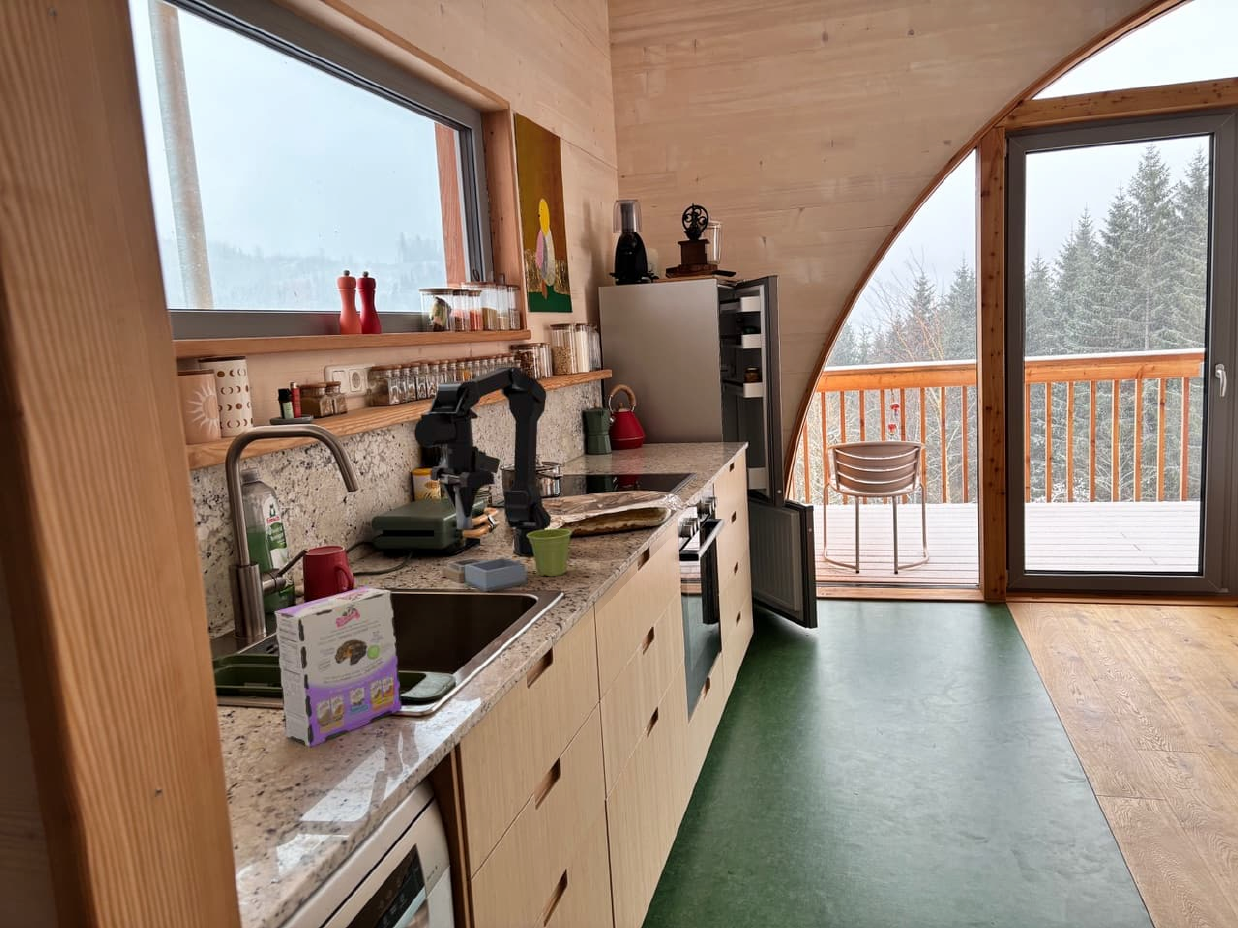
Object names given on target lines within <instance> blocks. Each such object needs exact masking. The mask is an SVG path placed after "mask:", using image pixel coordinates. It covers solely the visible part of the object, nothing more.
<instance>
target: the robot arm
mask: <svg viewBox="0 0 1238 928" xmlns="http://www.w3.org/2000/svg"><path fill="white" fill-rule="evenodd" d="M437 388H438V389H437V391H436V393H435V395H434V398H433V400H432V402H431V405H430V408H429V410H428V412H427V413H426V412H424V413H421V414H420V420H418V421H417V422H416V424H415V427H414V430H413V434H414V439H415V442H416V443H417V444H418V445H419V446H420V447H422V448H424V449H425V448H426V449H428V448H432V447H437V446H443V445H444V446H445V447H441V453H443V454H445V459H446V461H445V462H446V465H445V464H444V465H438V466H435V465H434V466H433V467H432V468H431V469H430V471H429V475H430V476H429V477H430V480H431V481H437V482H438V481H439V480H440V479H442V481H441V482H439V483H438V485H439V486H440V487H441V488H442V490H443V492H444V493H445V495H446V497H447V499H448V500H449V502H450V504H451V506H452V508H453V509H454V511H455V512H456V504H455V492H456V495H457V497H458V500H459V503H460V505H461V508H462V511H463V513H464V516H465V517H470V516H471V512H473V508H474V503H475V499H476V496H477V493H478V492H479V491H480V490H481V489H482V488H484V487H485V486H490V485H494V484H496V483H495V474H498V472H499V466H500V465H501V459H500V458H496V457H493V456H490V455H487V453H486V452H485V451H481V450H479V448H478V446H476V445H474V440H473V439H474V438H473V436H474V435H473V425H472V424H473V421H472V420H476V419H478V417H479V415H478V414H477V413H476V412H474V410H472V408H473V407H474V406H476V405H477V404H479V402H480V400H481V398H483V397H484V396H487V395H489V394H493V393H495V392H497V391H499V390H500V391H501V394H502V395H503V396H504V397H505V399H507V400H508V409H509V412H510V413H511V415H512V417H513V419H514V421H515V429H514V430H515V431H514V432H515V433H514V458H513V459H514V463H513V483H512V486H511V487H510V489H509V490H504V494H503V498H504V499H503V500H504V504H503V506H502V507H503V509H504V515H505V517H506V521H507V524H508V526H509V527H508V528H511V529H512V528H514V535H513V545H514V546H513V547H514V548H513V549H514V550H512V553H513V554H516V555H520V556H522V557H532V556H534V554H533V549H532V545H531V544H530V540H529V538H528V537H527V534H528V533H530V532H534V531H538V530H545V529H548V527H550V526H551V521H552V516H551V515H550V513H548V511H547V510H546V509H545V507H544V506H543V498H542V494H541V492H540V490H539V489H538V486H537V485H536V474H537V473H536V471H537V469H536V467H537V439H538V437H537V436H538V432H537V431H538V421H539V420H540V418H541V416H542V415H543V413H544V412H545V407H546V400H547V391H546V389H545V388H544V387H543V385H542V383H540V382H539V381H538V380H537V379H535V378H533V377H531V376H530V375H528V374H526V373H524V372H522V370H521V369H520V368H519V367H516V366H500V367H497V369H496V368H495V370H492V371H489V372H486V373H484V374H482V375H478V376H476V377H472V378H470V379H467V380H459V381H457V380H456V381H446V382H445V381H444V382H441V383H440V384H439V385H438V387H437ZM455 485H459V486H455ZM453 486H454V489H455V491H454V489H453Z"/></svg>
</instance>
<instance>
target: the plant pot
mask: <svg viewBox="0 0 1238 928" xmlns="http://www.w3.org/2000/svg"><path fill="white" fill-rule="evenodd" d="M572 534H573V532H572V530H570V529H565V528H549V529H548V528H545V530H538V531H534V532H530V533H528V534H527V537H528V538H529V540H530V544H531V545H532V549H533V554H534V555H533V558H534V564H535V567H536V568H535V569H536V574H537V575H538V576H540V577H544V576H548V577H555V576H556V577H557V576H561V575H564V573H567V567H568V553H569V542H570V539H571V535H572Z"/></svg>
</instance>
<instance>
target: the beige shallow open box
mask: <svg viewBox="0 0 1238 928" xmlns="http://www.w3.org/2000/svg"><path fill="white" fill-rule="evenodd" d="M483 561H484V560H482V559H479V558H475V557H470V558H464V559H461V560H460V559H459V560H454V561H448V562H447V563H448V565H446V566H442V569H441V571H442V577H444V578H447V579H449V580H452V581H454V582H456V583H466V576H465V565H467V564H472V563H478V562H483Z"/></svg>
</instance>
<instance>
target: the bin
mask: <svg viewBox="0 0 1238 928" xmlns="http://www.w3.org/2000/svg"><path fill="white" fill-rule="evenodd" d="M482 561H483V562H478V563H472V564H467V565H465V576H466V582H465V584H466V585H468V586H469V587H473V588H475V589H478V590H481V591H482V590H483V591H482V592H485V591H490V592H493V590H494V591H498V590H499V591H500V590H502V589H503V590H504V589H508V588H513V587H517V586H518V587H519V586H522V585H526V584H527V574H526V573H527V571H526V563H525V564H524V563H522V562H520V561H515V560H512V559H509V558H507V557H500V558H499V557H498V558H494V559H489V560H488V559H487V560H482Z"/></svg>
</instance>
